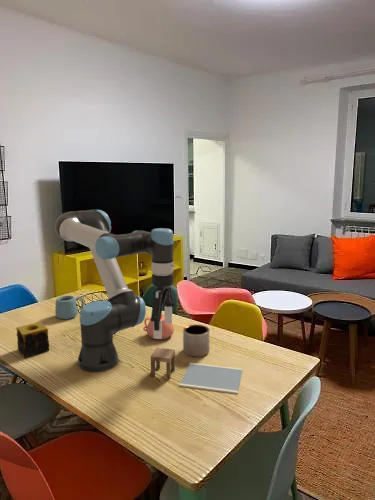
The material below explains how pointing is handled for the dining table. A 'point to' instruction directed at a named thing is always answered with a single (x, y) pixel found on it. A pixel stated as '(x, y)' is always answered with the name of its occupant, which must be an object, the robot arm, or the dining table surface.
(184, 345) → the planter
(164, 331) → the sugar bowl
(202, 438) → the dining table surface
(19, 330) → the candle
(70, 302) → the mug
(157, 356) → the stool
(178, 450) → the dining table surface
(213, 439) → the dining table surface
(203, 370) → the rug
